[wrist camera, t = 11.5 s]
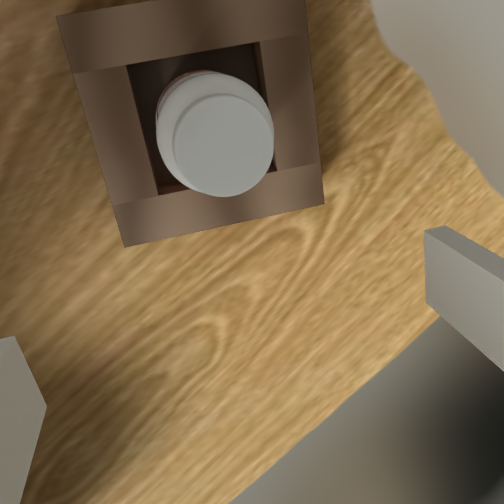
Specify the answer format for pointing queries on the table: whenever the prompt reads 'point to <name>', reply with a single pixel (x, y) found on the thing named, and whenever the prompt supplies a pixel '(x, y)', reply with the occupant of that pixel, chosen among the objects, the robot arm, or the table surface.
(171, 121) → the pill bottle
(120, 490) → the table surface
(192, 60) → the bore block
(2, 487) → the robot arm
